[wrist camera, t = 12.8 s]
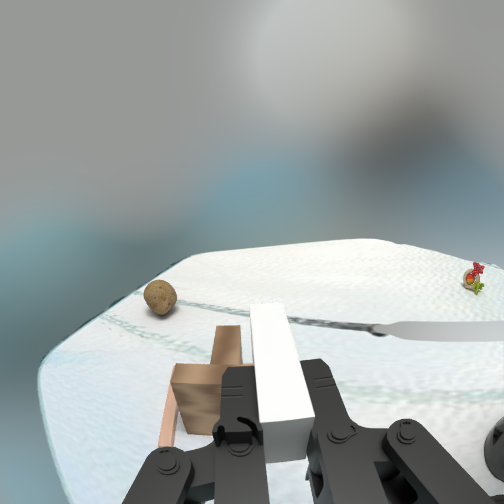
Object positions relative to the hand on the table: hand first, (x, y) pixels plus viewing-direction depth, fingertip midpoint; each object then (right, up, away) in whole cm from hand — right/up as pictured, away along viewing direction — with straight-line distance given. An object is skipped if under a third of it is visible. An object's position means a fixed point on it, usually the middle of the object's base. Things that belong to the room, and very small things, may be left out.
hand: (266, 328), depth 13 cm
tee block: (-4, -23, +31) cm, 39 cm away
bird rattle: (+78, -10, +62) cm, 100 cm away
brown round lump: (-25, -14, +61) cm, 68 cm away
